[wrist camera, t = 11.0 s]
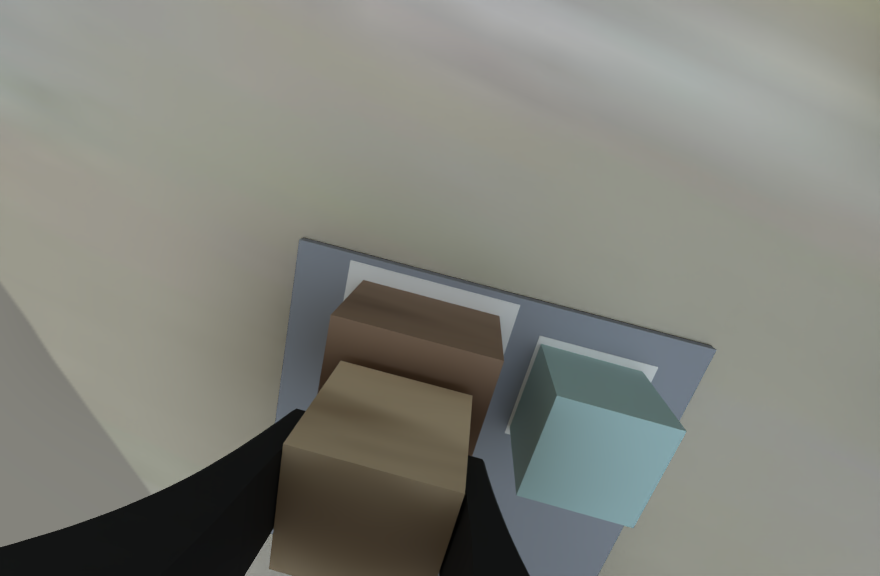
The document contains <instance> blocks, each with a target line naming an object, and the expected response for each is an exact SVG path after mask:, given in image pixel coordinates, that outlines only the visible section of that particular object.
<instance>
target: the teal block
mask: <svg viewBox="0 0 880 576" xmlns="http://www.w3.org/2000/svg"><path fill="white" fill-rule="evenodd" d="M685 433H686V430H685V429H684V427H683V426H682V425H681V423H680V422H679V420H678V419H677V418H676V416H675V415H674V414H673V412H672V411H671V410H670V408H669V407H668V405H667V404H666V403H665V401H664V400H663V399H662V397H661V396H660V395H659V393H658V392H657V391H656V389H655V388H654V386H653V385H652V384H651V382H650V381H649V380H648V378H647V377H646V376H645V374H644V373H643V372H642V371H639V370H635V369H631V368H628V367H624V366H620V365H617V364H613V363H609V362H606V361H602V360H598V359H595V358H591V357H588V356H584V355H580V354H577V353H573V352H569V351H566V350H562V349H558V348H555V347H551V346H547V345H544V344H541V345H540V348H539V350H538V353H537V356H536V358H535V361H534V364H533V366H532V369H531V372H530V374H529V377H528V380H527V382H526V385H525V388H524V391H523V393H522V396H521V399H520V401H519V404H518V407H517V409H516V412H515V415H514V417H513V420H512V423H511V425H510V437H511V447H512V457H513V467H514V477H515V487H516V495H517V496H520V497H524V498H527V499H531V500H534V501H538V502H542V503H545V504H549V505H552V506H556V507H559V508H563V509H567V510H570V511H574V512H577V513H581V514H585V515H588V516H592V517H595V518H599V519H602V520H606V521H610V522H613V523H617V524H620V525H624V526H627V527H631V528H634V526H635V524H636V522H637V520H638V519H639V517H640V515H641V513H642V511H643V510H644V508H645V506H646V504H647V502H648V501H649V499H650V497H651V495H652V493H653V491H654V490H655V488H656V486H657V484H658V482H659V481H660V479H661V477H662V475H663V473H664V471H665V470H666V468H667V466H668V464H669V462H670V461H671V459H672V457H673V455H674V453H675V451H676V450H677V448H678V446H679V444H680V442H681V441H682V439H683V437H684V435H685Z"/></svg>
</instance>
